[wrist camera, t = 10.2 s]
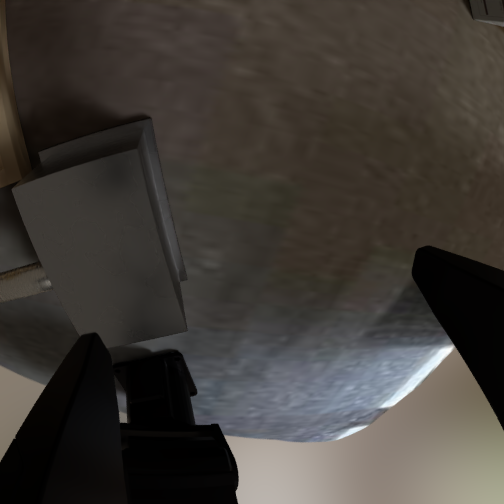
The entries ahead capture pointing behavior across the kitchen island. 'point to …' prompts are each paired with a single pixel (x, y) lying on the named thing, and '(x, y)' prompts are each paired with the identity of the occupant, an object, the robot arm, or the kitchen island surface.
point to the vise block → (103, 236)
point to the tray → (9, 119)
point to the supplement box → (488, 11)
